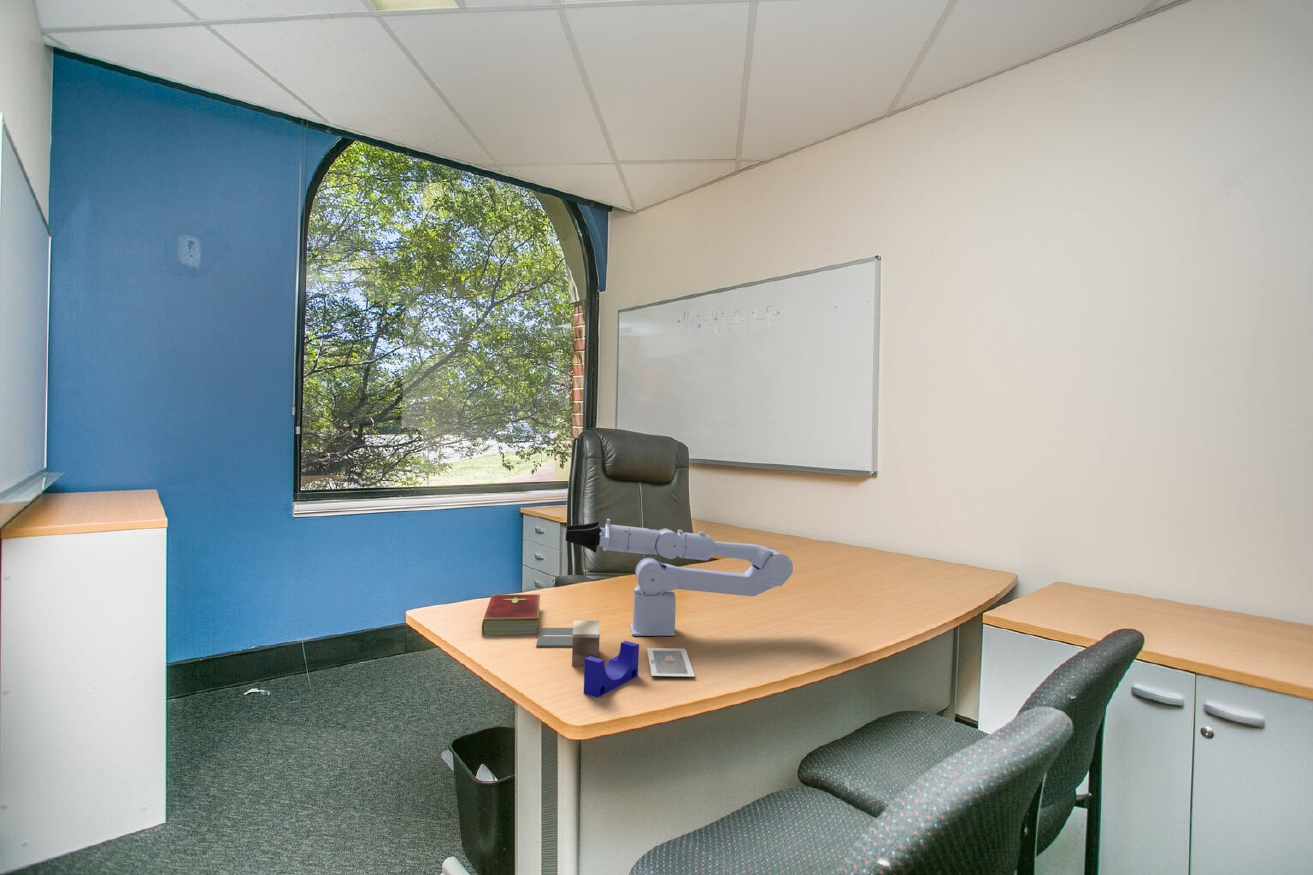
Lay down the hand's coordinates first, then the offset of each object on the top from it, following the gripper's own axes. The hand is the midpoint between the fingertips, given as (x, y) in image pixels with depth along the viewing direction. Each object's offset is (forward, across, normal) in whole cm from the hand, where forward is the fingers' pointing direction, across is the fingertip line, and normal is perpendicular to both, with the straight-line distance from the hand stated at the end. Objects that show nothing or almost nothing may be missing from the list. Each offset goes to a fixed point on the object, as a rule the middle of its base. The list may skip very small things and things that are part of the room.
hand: (566, 532), depth 139 cm
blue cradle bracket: (-11, +30, +21) cm, 38 cm away
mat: (-3, +5, +22) cm, 22 cm away
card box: (-7, +17, +21) cm, 28 cm away
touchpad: (-23, +21, +20) cm, 37 cm away
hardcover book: (+10, -8, +23) cm, 27 cm away
